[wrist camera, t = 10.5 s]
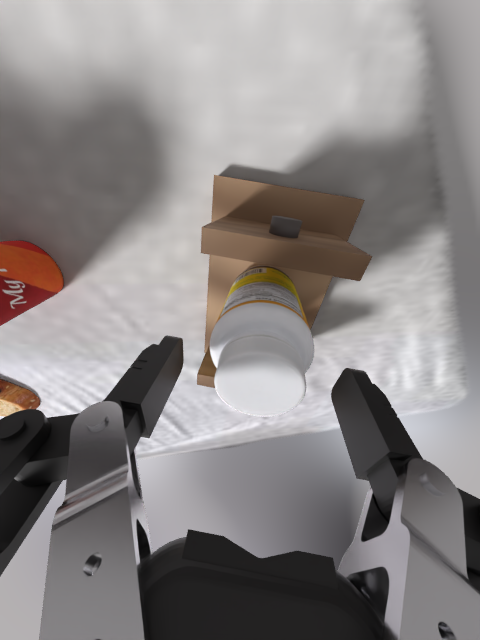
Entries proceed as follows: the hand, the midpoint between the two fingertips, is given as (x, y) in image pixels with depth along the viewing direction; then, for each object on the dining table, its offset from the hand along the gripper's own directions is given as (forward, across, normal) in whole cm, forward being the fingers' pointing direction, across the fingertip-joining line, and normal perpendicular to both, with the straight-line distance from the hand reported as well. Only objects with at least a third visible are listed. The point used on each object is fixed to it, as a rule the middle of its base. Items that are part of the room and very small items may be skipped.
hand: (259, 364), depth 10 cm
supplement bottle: (+9, 0, 0) cm, 9 cm away
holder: (+10, 0, 0) cm, 10 cm away
